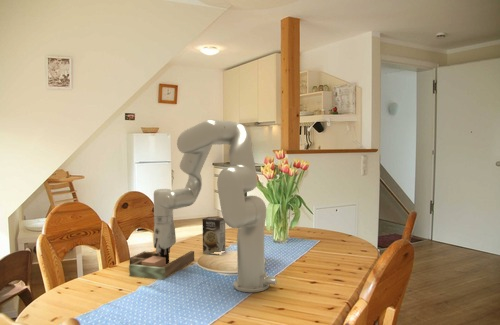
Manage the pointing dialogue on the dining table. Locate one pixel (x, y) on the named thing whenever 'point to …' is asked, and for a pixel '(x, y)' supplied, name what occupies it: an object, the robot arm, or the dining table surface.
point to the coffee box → (213, 235)
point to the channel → (157, 272)
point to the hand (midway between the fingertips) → (164, 263)
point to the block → (155, 261)
